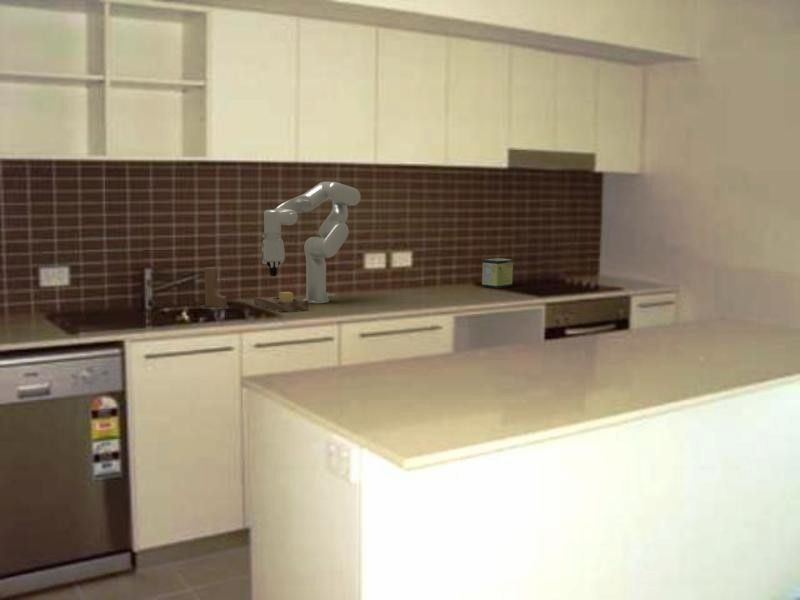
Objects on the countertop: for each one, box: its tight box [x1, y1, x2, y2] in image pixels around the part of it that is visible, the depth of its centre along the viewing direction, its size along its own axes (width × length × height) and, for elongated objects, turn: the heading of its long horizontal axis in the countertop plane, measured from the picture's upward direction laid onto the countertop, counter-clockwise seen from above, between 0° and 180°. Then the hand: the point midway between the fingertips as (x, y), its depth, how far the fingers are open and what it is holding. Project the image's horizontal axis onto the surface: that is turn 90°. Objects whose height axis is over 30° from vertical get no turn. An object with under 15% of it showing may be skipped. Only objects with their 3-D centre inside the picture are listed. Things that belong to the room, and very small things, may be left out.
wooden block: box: [204, 266, 228, 308], centre depth 408 cm, size 9×4×18 cm, turn 81°
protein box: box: [481, 257, 514, 289], centre depth 498 cm, size 10×16×16 cm
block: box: [278, 291, 294, 302], centre depth 413 cm, size 5×5×4 cm
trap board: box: [253, 296, 309, 313], centre depth 411 cm, size 14×30×4 cm, turn 33°
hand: (273, 275), depth 410 cm, fingers closed
